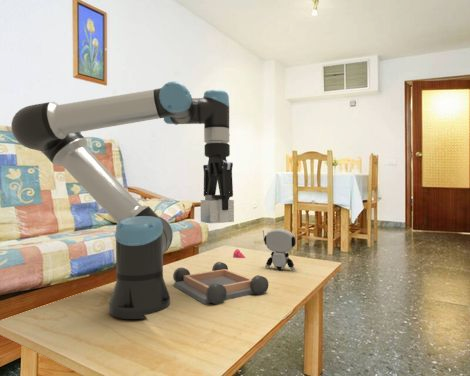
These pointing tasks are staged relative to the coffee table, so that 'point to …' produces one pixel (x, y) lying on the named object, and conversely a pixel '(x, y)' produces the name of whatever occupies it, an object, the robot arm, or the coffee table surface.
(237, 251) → the toy pieces
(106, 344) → the coffee table surface
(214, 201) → the block
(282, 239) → the robot toy
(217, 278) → the chassis
